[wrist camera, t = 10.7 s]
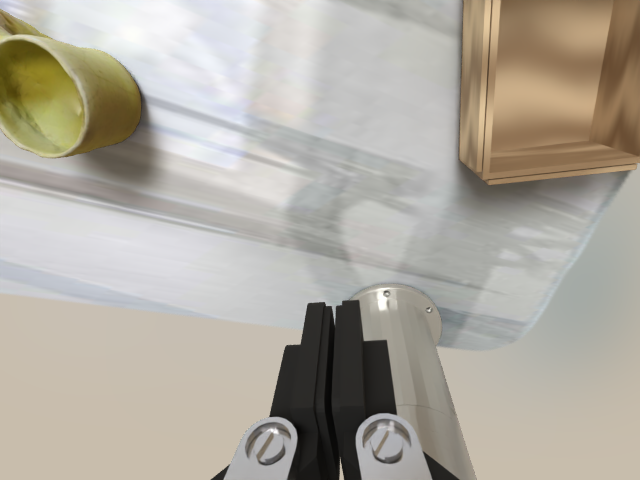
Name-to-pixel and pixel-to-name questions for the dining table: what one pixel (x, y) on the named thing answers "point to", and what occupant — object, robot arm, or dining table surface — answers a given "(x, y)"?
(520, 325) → the dining table surface
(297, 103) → the dining table surface
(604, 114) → the wooden box
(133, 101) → the mug
